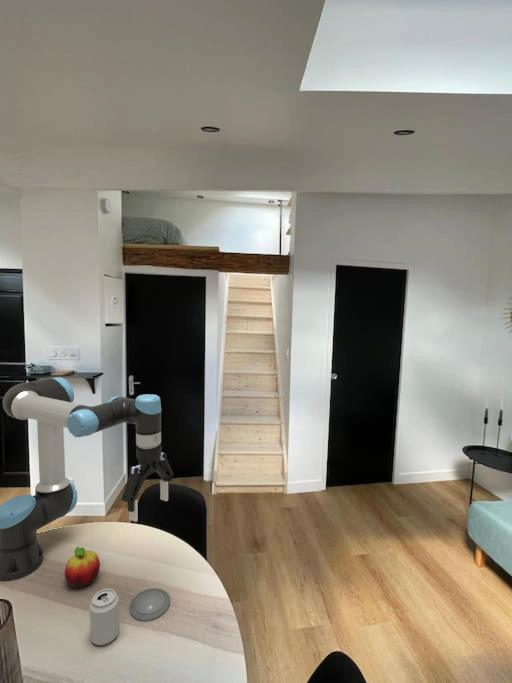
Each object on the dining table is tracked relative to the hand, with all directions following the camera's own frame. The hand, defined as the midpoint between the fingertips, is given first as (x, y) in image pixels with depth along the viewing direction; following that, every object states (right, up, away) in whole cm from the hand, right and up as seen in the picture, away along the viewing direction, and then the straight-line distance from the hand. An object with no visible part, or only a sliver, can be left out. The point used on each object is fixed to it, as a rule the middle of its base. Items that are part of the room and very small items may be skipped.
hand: (149, 509), depth 119 cm
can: (-9, -30, -14) cm, 34 cm away
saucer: (+1, -28, -3) cm, 29 cm away
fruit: (-24, -27, +7) cm, 37 cm away
